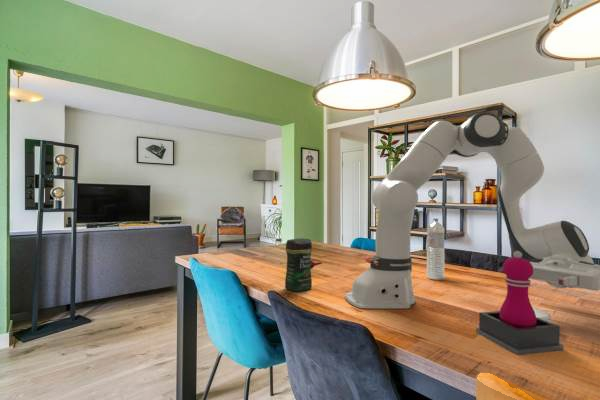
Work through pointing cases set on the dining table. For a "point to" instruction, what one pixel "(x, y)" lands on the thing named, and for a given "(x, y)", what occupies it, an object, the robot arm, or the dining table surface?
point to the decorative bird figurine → (314, 264)
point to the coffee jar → (298, 265)
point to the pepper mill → (517, 293)
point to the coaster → (542, 314)
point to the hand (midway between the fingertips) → (539, 277)
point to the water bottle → (435, 251)
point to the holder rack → (520, 334)
